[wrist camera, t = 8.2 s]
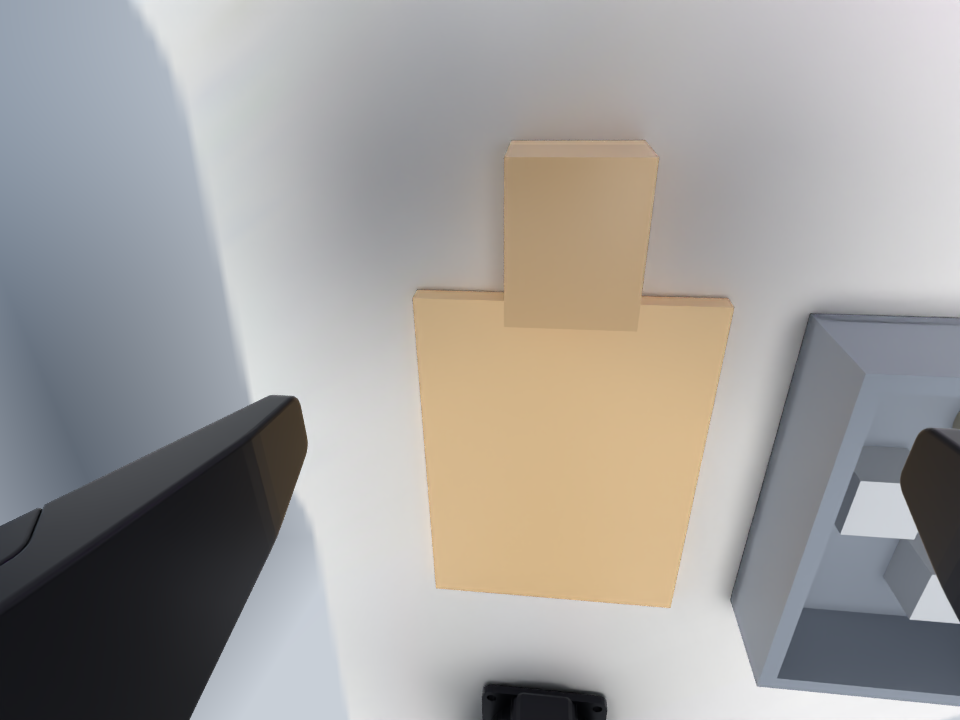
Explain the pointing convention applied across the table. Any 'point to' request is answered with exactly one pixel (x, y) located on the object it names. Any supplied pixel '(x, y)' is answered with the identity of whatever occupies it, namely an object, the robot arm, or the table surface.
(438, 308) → the tan board with handle
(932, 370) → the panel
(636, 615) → the table surface
